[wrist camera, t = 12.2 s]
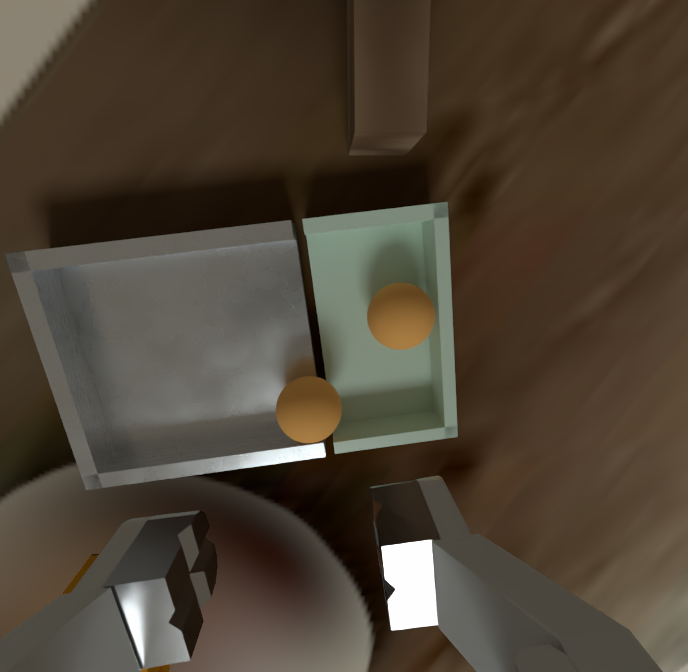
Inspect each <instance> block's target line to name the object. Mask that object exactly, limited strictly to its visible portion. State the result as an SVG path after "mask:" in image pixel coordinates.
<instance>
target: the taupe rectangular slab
mask: <svg viewBox="0 0 688 672" xmlns="http://www.w3.org/2000/svg"><path fill="white" fill-rule="evenodd" d="M346 8H347V84H348V155H406V154H407V153H408V152H409V151H410V150H411V149H412V148H413V147H414V145H415V144H416V143H417V142H418V141H419V140H420V139H421V138H422V136H423V135H424V134H425V133H426V130H427V101H428V72H429V43H430V14H431V0H346Z"/></svg>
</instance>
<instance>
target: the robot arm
mask: <svg viewBox="0 0 688 672" xmlns="http://www.w3.org/2000/svg"><path fill="white" fill-rule="evenodd" d="M370 496H371V505H372V510H373V516H374V521H373V522H374V529H375V536H376V544H377V551H378V557H379V563H380V569H381V573H382V576H383V584H384V592H385V598H386V603H387V609H388V614H389V620H390V625H391V630H398V629H407V628H416V627H424V626H433V625H439V628H440V630H441V631H442V632H443V633H444V634H445V635H446V637H447V638H448V639H449V640H450V641H451V642H452V644H453V645H454V646H455V647H456V648H457V649H458V650H459V652H460V653H461V654H462V655H463V656H464V657H465V659H466V660H467V661H468V662H469V663H470V664H471V666H472V667H473V668H474V669H475V670H476V671H477V672H662V670H661V669H660V668H659V667H658V665H657V664H656V663H655V662H654V660H653V659H652V658H651V657H650V655H649V654H648V653H647V652H646V650H645V649H644V648H643V647H642V645H641V644H640V643H639V642H638V640H637V639H636V638H635V637H634V635H633V634H632V633H631V631H630V630H629V629H627V628H625V627H624V626H622V625H621V624H619V623H618V622H616V621H615V620H613V619H611V618H610V617H608V616H607V615H605V614H604V613H602V612H601V611H599V610H597V609H596V608H594V607H593V606H591V605H590V604H588V603H586V602H585V601H583V600H582V599H580V598H579V597H577V596H576V595H574V594H572V593H571V592H569V591H568V590H566V589H565V588H563V587H562V586H560V585H558V584H557V583H555V582H554V581H552V580H551V579H549V578H547V577H546V576H544V575H543V574H541V573H540V572H538V571H537V570H535V569H533V568H532V567H530V566H529V565H527V564H526V563H524V562H522V561H521V560H519V559H518V558H516V557H515V556H513V555H512V554H510V553H508V552H507V551H505V550H504V549H502V548H501V547H499V546H498V545H496V544H494V543H493V542H491V541H490V540H488V539H487V538H485V537H483V536H482V535H480V534H476V535H472V534H471V533H470V531H469V529H468V527H467V525H466V523H465V521H464V519H463V517H462V515H461V513H460V511H459V509H458V507H457V506H456V504H455V502H454V500H453V498H452V496H451V494H450V492H449V490H448V488H447V486H446V484H445V482H444V481H443V479H442V478H441V477H440V476H434V477H428V478H422V479H416V481H408V482H401V483H394V484H387V485H381V486H374V487H370ZM208 529H209V523H208V520H207V516H206V514H205V513H204V512H202V511H193V512H184V513H175V514H167V515H158V516H153V517H145V518H136V519H129V520H128V521H126V522H124V523H122V525H121V526H120V527H119V529H118V530H117V531H116V533H115V534H114V535H113V537H112V538H111V539H110V541H109V542H108V543H107V545H106V546H105V547H104V549H103V550H102V551H101V553H100V554H99V556H98V557H97V558H96V560H95V561H94V562H93V564H92V565H91V566H90V568H89V569H88V570H87V572H86V573H85V574H84V576H83V577H82V578H81V580H80V581H79V582H78V584H77V585H76V587H75V588H74V589H73V591H72V592H71V593H68V594H62V595H60V596H59V597H57V598H56V599H55V600H53V601H52V602H51V603H49V604H48V605H46V606H45V607H44V608H42V609H41V610H40V611H38V612H37V613H36V614H34V615H33V616H31V617H30V618H29V619H27V620H26V621H24V622H23V623H22V624H20V625H19V626H18V627H16V628H15V629H14V630H12V631H11V632H10V633H8V634H7V635H5V636H4V637H2V638H1V639H0V672H141V669H146V668H152V667H157V666H162V665H168V664H173V663H179V662H184V661H190V660H191V657H192V654H193V651H194V648H195V645H196V642H197V639H198V636H199V633H200V630H201V627H202V624H203V617H202V614H201V610H200V609H201V608H202V607H203V605H204V604H205V603H206V602H207V601H208V600H209V599H210V598H211V596H212V593H213V589H214V586H215V583H216V574H217V554H216V550H215V546H214V544H213V543H212V542H211V541H210V540H208V539H207V538H206V534H207V531H208Z"/></svg>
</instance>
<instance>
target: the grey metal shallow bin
mask: <svg viewBox="0 0 688 672" xmlns="http://www.w3.org/2000/svg"><path fill="white" fill-rule="evenodd" d="M5 256H6V259H7V262H8V265H9V268H10V271H11V274H12V276H13V279H14V282H15V285H16V288H17V291H18V294H19V297H20V300H21V303H22V305H23V308H24V311H25V314H26V317H27V320H28V323H29V326H30V329H31V332H32V334H33V337H34V340H35V343H36V346H37V349H38V352H39V355H40V358H41V361H42V364H43V366H44V369H45V372H46V375H47V378H48V381H49V384H50V387H51V390H52V393H53V395H54V398H55V401H56V404H57V407H58V410H59V413H60V416H61V419H62V422H63V424H64V427H65V430H66V433H67V436H68V439H69V442H70V445H71V448H72V451H73V453H74V456H75V459H76V462H77V465H78V468H79V471H80V474H81V477H82V479H83V482H84V485H85V488H86V490H90V489H97V488H105V487H112V486H118V485H126V484H134V483H141V482H148V481H155V480H163V479H170V478H177V477H184V476H191V475H199V474H206V473H213V472H220V471H227V470H235V469H242V468H249V467H256V466H263V465H271V464H278V463H285V462H292V461H299V460H307V459H314V458H321V457H326V442H325V439H323V440H321V441H319V442H315V443H302V442H298V441H295V440H293V439H291V438H290V437H288V436H287V435H286V434H285V433H284V432H283V430H282V429H281V427H280V426H279V423H278V421H277V417H276V404H277V400H278V397H279V395H280V393H281V391H282V390H283V389H284V387H285V386H286V385H288V384H289V383H290V382H291V381H293V380H295V379H297V378H300V377H304V376H315V377H317V370H316V364H315V357H314V350H313V343H312V336H311V329H310V322H309V315H308V308H307V301H306V294H305V287H304V280H303V274H302V267H301V260H300V253H299V246H298V239H297V232H296V225H295V223H294V222H293V221H291V220H287V221H278V222H270V223H261V224H253V225H244V226H236V227H228V228H219V229H211V230H202V231H194V232H185V233H177V234H168V235H160V236H151V237H143V238H135V239H126V240H118V241H109V242H101V243H92V244H84V245H75V246H67V247H58V248H50V249H42V250H33V251H25V252H16V253H8V254H5Z"/></svg>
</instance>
